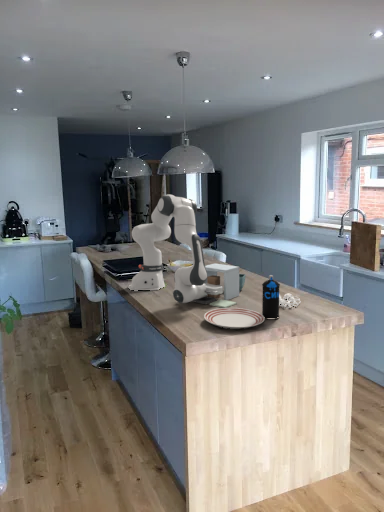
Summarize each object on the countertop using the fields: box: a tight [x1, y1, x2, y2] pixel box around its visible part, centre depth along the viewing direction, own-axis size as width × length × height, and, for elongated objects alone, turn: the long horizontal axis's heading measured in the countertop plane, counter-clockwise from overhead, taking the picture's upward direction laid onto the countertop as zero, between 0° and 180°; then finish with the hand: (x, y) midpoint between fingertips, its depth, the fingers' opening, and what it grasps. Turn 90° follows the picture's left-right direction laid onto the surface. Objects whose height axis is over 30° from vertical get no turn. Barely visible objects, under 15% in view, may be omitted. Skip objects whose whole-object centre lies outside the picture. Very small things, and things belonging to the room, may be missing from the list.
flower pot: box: [239, 273, 247, 292], centre depth 254 cm, size 9×9×9 cm
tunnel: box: [205, 262, 240, 301], centre depth 242 cm, size 12×17×16 cm
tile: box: [209, 298, 238, 308], centre depth 226 cm, size 10×10×1 cm
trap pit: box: [192, 295, 217, 305], centre depth 233 cm, size 9×9×1 cm
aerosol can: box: [261, 274, 281, 318], centre depth 202 cm, size 8×8×20 cm
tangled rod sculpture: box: [279, 293, 302, 309], centre depth 225 cm, size 19×14×4 cm
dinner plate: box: [203, 307, 266, 330], centre depth 197 cm, size 27×27×3 cm
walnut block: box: [206, 275, 221, 300], centre depth 238 cm, size 5×5×12 cm
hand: (214, 285), depth 238 cm, fingers closed on walnut block, 5 cm apart
